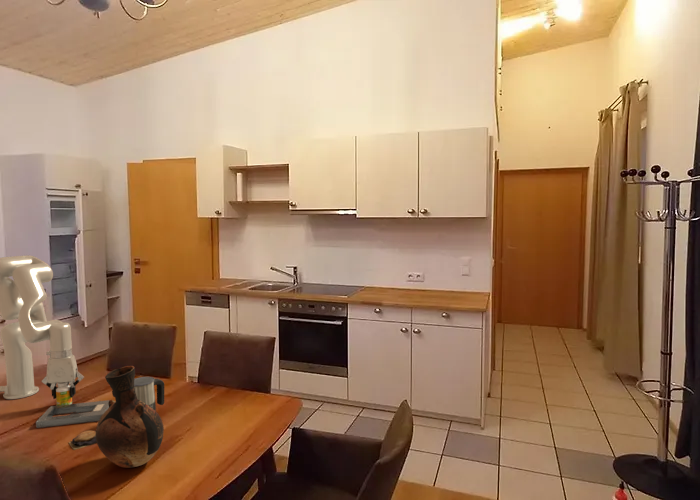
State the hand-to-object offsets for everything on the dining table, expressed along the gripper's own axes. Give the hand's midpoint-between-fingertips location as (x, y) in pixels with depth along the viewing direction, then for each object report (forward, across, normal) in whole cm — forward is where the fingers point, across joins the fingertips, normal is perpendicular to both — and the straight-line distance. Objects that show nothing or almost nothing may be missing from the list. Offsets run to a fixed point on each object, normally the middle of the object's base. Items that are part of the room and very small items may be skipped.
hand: (64, 396), depth 187 cm
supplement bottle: (+4, 0, 0) cm, 4 cm away
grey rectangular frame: (+3, +8, -13) cm, 16 cm away
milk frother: (+4, +32, -19) cm, 37 cm away
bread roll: (+4, +19, -36) cm, 41 cm away
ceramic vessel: (+3, +36, -55) cm, 66 cm away
